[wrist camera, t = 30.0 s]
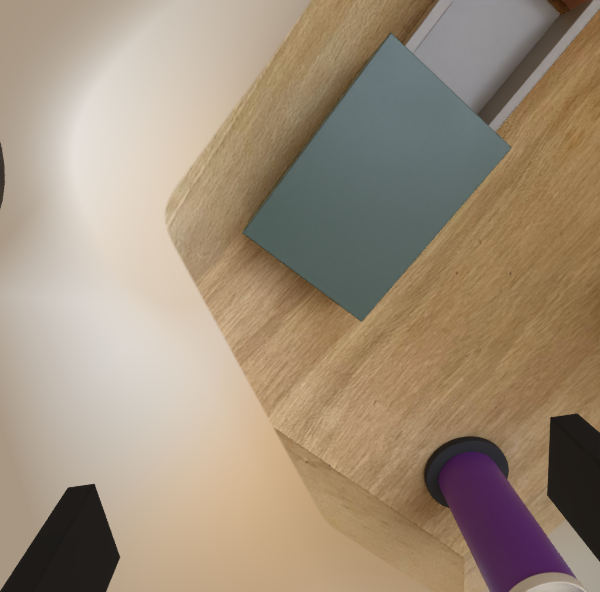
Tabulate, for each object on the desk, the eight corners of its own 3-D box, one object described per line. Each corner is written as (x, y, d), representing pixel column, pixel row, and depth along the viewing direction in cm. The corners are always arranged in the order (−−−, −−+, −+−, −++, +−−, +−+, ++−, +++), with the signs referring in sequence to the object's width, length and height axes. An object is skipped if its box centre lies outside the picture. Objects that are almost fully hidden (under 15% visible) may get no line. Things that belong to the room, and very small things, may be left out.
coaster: (426, 509, 49) (428, 515, 48) (422, 442, 46) (424, 447, 46) (505, 498, 49) (508, 503, 48) (505, 430, 46) (509, 435, 46)
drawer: (538, -157, 31) (589, -219, 26) (630, -47, 33) (693, -85, 28) (359, 84, 35) (372, 71, 30) (451, 167, 37) (478, 168, 32)
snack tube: (425, 486, 47) (487, 628, 33) (463, 440, 45) (546, 569, 31) (472, 510, 48) (552, 658, 34) (511, 467, 47) (612, 602, 32)
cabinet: (369, 56, 35) (391, 32, 28) (470, 150, 37) (512, 147, 31) (249, 220, 39) (242, 233, 32) (348, 295, 41) (361, 322, 34)
